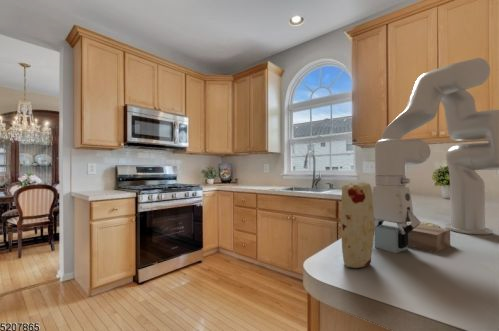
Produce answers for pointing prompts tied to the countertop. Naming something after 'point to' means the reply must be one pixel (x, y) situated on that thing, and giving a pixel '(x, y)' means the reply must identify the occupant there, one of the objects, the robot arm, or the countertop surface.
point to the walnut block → (429, 238)
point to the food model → (357, 224)
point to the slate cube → (387, 238)
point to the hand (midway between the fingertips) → (390, 243)
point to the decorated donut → (427, 224)
